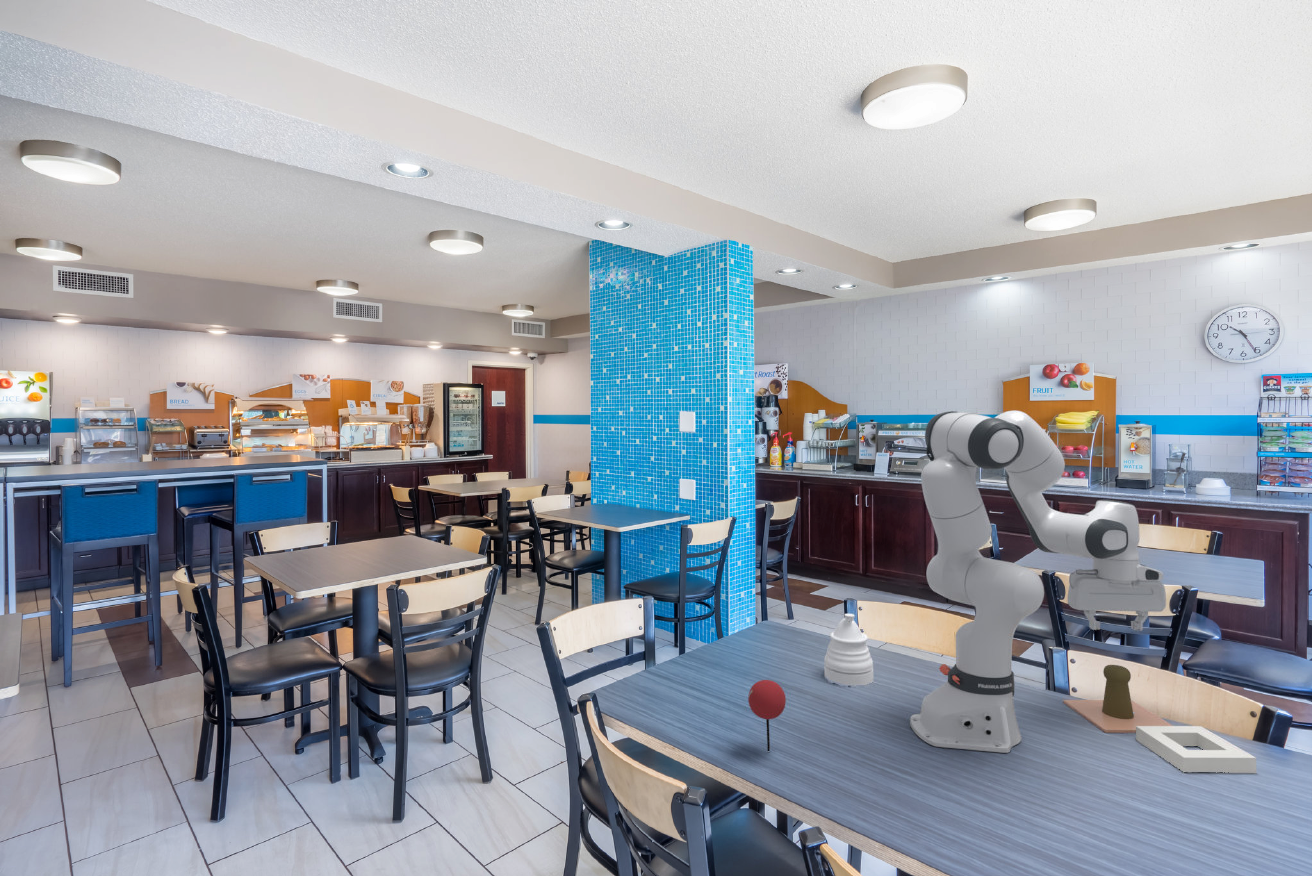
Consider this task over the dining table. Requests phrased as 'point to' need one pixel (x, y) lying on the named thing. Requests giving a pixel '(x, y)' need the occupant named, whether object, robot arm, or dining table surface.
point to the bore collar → (1211, 759)
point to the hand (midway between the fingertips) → (1115, 629)
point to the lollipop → (767, 701)
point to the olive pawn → (1117, 692)
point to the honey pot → (848, 655)
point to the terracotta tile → (1110, 724)
